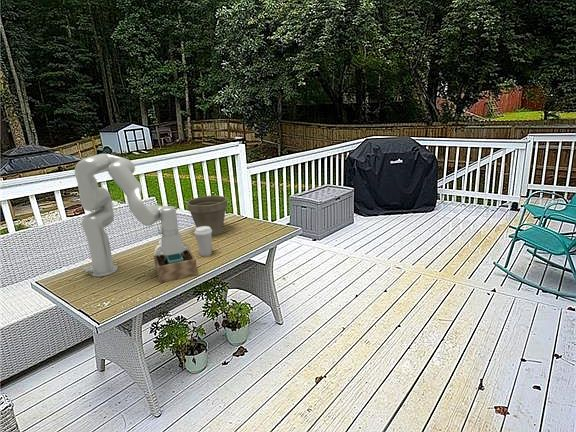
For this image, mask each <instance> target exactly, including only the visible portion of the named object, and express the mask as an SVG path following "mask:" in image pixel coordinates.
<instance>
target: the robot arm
mask: <svg viewBox="0 0 576 432" xmlns="http://www.w3.org/2000/svg"><path fill="white" fill-rule="evenodd" d="M135 167H136V166H135V164H134V162H132V160H130V159H128V158H125V157H121V156H117V155H113V154H109V153H99V154H95V155H90V156H87V157H85V158H83V159H81V160H79V161H78V162H77V163H76V165H75V167H74V176H75V180H76V182H77V187H78V188H77V189H78V194H79V200H80V205H81V206H82V208H83V209H84V210H85V211H89V212H90V213H88V214H86V215H85V216H84V217H83V218H82V220H81V227H82V230H83V232H84V234H85V236H86V241H87V246H88V249H89V254H90V259H91V264H90V265H89V266H85V267H83V268H82V269H83V272H86V273H88V272H90V275H91V276H92V277H96V278H97V277H100V278H101V277H107V276H109V275H112V274H114V273H115V272H117V270H118V265H116V264H114V260H113V256H112V250H111V245H110V240H109V236H108V234H107V233H106V230H105V228H106V227H108V226H110V225H111V224H112V223H113V221H114V220H115V219H114V218H115V213H114V209H113V203H112V202H113V201H112V197H111V194H110V192H109V191H108V189H106V188H105V187H101V186H99V184H98V180H97V179H96V177H95V175H98V174H101V173H104V172H108V175H109V176H110V177H111V179H112V180H113V181H114V183H115V184H116V185H117V186H118V187H119V188H120V190H121V191H122V192H123V193H124V195H125V196H126V199H127V204H128V207H129V210H130V212H131V213H132V214H133V216H134V217H135V218H136V219H137V221H138V222H139V223H140V224H142V225H143V226H147V227H148V226H153V225H154V224H155V223H157V222H158V221H160V223H161V230H158V232H159V234H160V235H161V237H160V238H161V239H160V240H161V243H162V247H161V248H159V249H158V250H157V253H156V254H157V255H158V256H159V257H160V258H162V259H164V263H165V265H168V260H167V256H168V255H174V254H179V253H181V255H182V257H183V261H185V257H184V256H185V254H186V253H187V251H188V250H189V249H190V248H191V247H190V246H189V245H187V244H185V243H184V240H183V237H182V234H181V232H180V231H179V224H178V217H177V209H176V207H175V206H172V205H165V206H163V205H158V204H153V205H151V206H149V207H148V208H147V206H146V205H145V203H144V202H143V200H142V191H143V190H142V189H143V187H142V184H141V183H140V181H139V180H138V179H137V178H136V176H135V175H134V173H135V171H136V168H135ZM190 250H191V249H190ZM161 252H163V254H164V256H163V255H162V254H161Z"/></svg>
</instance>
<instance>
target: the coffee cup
mask: <svg viewBox="0 0 576 432" xmlns="http://www.w3.org/2000/svg"><path fill="white" fill-rule="evenodd" d="M211 232H212V230H211V228H210V227H209V226H201V227H198V228H196V227H195V230H194V235H195V238H196V241H197V246H198V253H199V255H200V256H202V257H207V256H211V255H212V253H213V252H212V251H213V249H212V246H213V245H212V236H211Z"/></svg>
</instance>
